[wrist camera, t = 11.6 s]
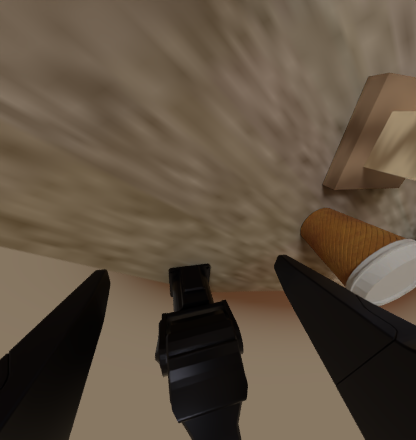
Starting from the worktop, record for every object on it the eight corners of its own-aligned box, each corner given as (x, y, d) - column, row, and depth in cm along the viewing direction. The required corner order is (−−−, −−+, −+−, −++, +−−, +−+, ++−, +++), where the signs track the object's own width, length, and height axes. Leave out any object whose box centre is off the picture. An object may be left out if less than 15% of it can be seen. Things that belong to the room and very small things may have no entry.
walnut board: (384, 183, 27) (398, 187, 25) (322, 184, 24) (334, 189, 23) (442, 88, 21) (467, 86, 19) (368, 76, 18) (389, 72, 16)
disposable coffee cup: (281, 232, 28) (348, 299, 18) (330, 186, 25) (441, 234, 15) (307, 253, 32) (372, 315, 22) (351, 217, 30) (447, 269, 20)
